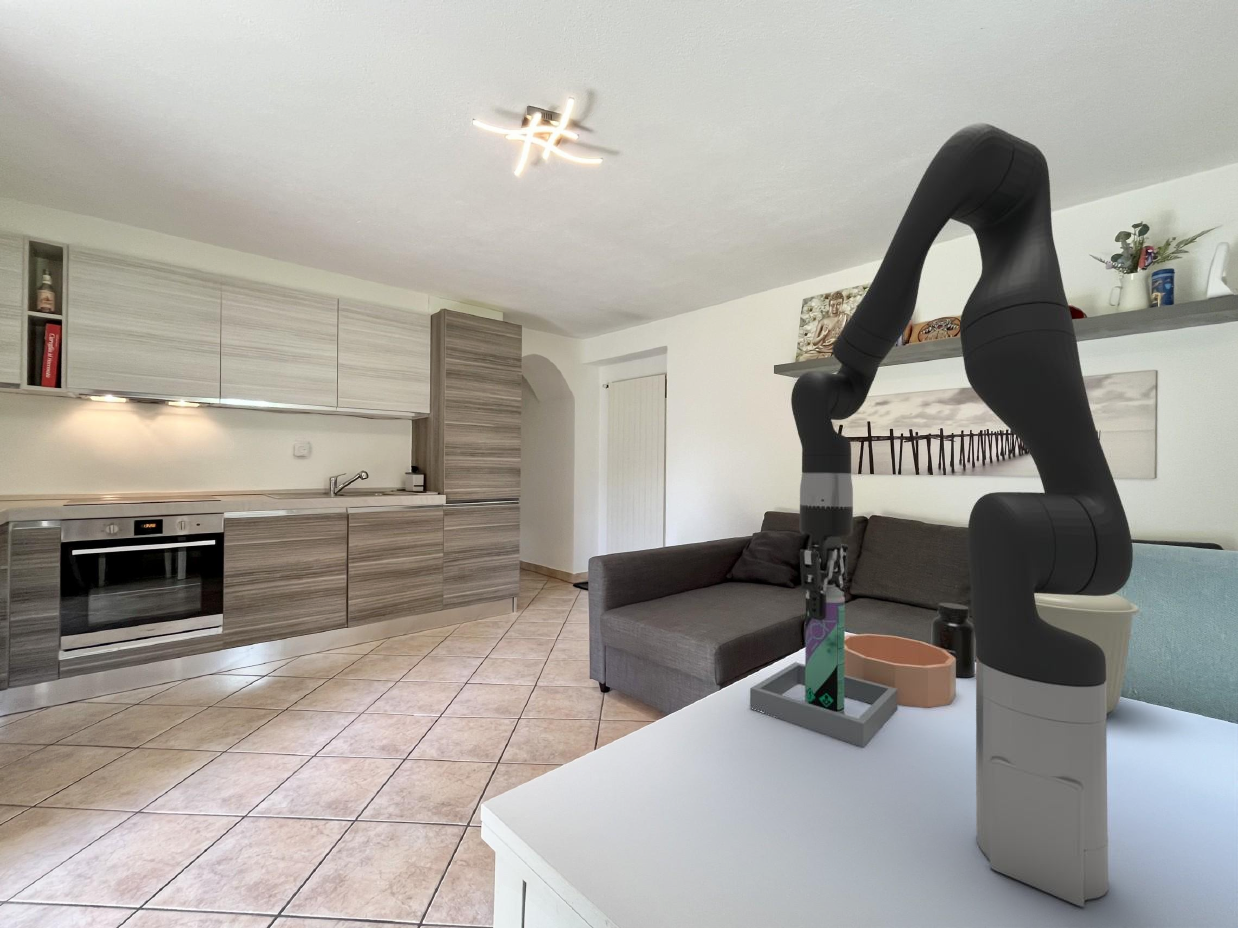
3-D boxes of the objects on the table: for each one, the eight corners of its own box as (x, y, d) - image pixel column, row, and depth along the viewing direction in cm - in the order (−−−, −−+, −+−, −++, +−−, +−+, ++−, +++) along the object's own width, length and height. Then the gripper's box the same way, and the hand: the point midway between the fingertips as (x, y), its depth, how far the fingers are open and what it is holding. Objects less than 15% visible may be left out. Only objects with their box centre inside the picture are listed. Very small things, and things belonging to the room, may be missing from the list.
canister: (988, 671, 95) (988, 556, 95) (1124, 696, 84) (1122, 567, 85) (991, 705, 80) (991, 569, 80) (1157, 741, 70) (1154, 584, 70)
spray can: (812, 697, 81) (813, 570, 82) (848, 708, 78) (849, 574, 78) (799, 709, 77) (800, 574, 78) (837, 720, 74) (838, 579, 74)
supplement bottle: (937, 675, 92) (937, 607, 93) (926, 663, 99) (926, 599, 99) (981, 680, 90) (981, 611, 91) (967, 667, 97) (967, 603, 97)
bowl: (941, 717, 75) (941, 675, 76) (824, 684, 87) (824, 648, 87) (962, 684, 88) (962, 649, 88) (857, 660, 99) (858, 628, 100)
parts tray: (863, 747, 66) (863, 723, 66) (750, 708, 77) (750, 688, 77) (897, 708, 78) (897, 688, 78) (795, 679, 89) (795, 661, 89)
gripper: (833, 505, 71) (832, 630, 70) (866, 503, 81) (866, 611, 81) (781, 503, 76) (780, 619, 75) (819, 501, 86) (818, 603, 86)
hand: (825, 614), depth 78 cm, fingers closed on spray can, 5 cm apart
